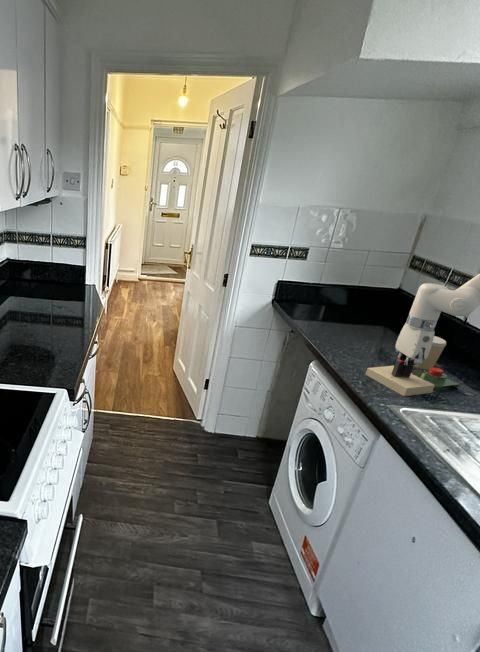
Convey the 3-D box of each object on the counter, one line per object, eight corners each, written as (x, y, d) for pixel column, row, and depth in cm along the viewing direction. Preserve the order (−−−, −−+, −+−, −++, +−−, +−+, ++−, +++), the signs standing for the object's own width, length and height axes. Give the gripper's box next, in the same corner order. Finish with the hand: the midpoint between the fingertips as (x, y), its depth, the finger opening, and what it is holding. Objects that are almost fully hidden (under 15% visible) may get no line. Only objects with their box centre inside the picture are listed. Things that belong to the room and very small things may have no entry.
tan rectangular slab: (431, 393, 136) (435, 384, 135) (404, 396, 133) (407, 387, 132) (390, 372, 150) (393, 365, 148) (364, 375, 146) (367, 367, 145)
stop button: (444, 376, 141) (446, 371, 140) (436, 376, 140) (438, 372, 139) (433, 371, 144) (435, 366, 143) (425, 372, 143) (427, 367, 142)
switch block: (456, 389, 140) (461, 379, 138) (437, 392, 137) (441, 381, 136) (425, 375, 149) (429, 365, 148) (406, 377, 147) (410, 367, 145)
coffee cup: (398, 360, 160) (410, 332, 154) (424, 363, 159) (437, 335, 153) (411, 371, 151) (425, 342, 146) (439, 375, 150) (453, 345, 145)
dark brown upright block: (406, 375, 141) (412, 360, 139) (409, 377, 139) (415, 362, 137) (391, 374, 141) (396, 359, 139) (394, 376, 139) (400, 361, 137)
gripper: (450, 332, 125) (428, 385, 133) (417, 315, 140) (398, 364, 147) (425, 330, 125) (404, 383, 133) (394, 314, 140) (376, 363, 147)
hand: (401, 373), depth 140 cm, fingers closed on dark brown upright block
